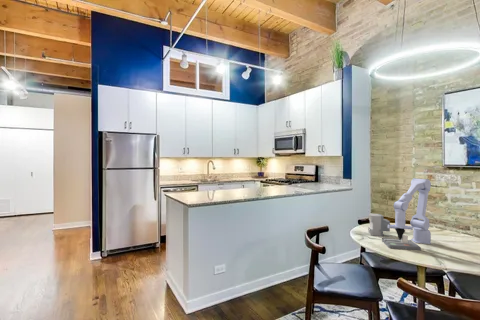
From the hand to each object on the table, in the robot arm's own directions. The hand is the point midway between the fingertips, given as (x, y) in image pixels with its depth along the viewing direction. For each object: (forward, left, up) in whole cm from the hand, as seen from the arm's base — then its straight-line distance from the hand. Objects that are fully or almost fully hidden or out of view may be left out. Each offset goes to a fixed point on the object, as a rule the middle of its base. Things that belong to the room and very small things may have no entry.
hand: (399, 239), depth 170 cm
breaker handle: (-3, 0, -2) cm, 3 cm away
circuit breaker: (+5, -23, -4) cm, 24 cm away
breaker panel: (0, 0, -4) cm, 4 cm away
